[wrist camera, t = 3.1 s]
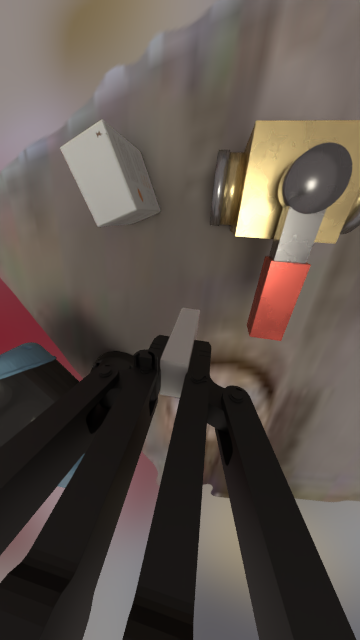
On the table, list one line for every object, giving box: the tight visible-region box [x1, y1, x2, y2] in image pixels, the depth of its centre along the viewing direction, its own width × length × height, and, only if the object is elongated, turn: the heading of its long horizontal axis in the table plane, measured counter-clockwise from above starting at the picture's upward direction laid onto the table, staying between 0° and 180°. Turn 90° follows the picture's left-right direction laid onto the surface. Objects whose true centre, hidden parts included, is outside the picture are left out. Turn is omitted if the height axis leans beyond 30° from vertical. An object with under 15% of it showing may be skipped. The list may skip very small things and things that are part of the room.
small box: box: [60, 119, 161, 227], centre depth 24 cm, size 8×6×10 cm
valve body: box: [220, 120, 360, 244], centre depth 21 cm, size 14×9×11 cm, turn 87°
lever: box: [247, 142, 352, 341], centre depth 18 cm, size 17×4×3 cm, turn 177°
